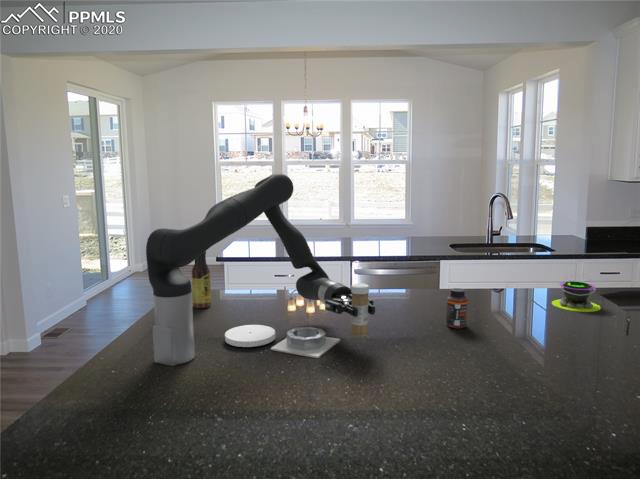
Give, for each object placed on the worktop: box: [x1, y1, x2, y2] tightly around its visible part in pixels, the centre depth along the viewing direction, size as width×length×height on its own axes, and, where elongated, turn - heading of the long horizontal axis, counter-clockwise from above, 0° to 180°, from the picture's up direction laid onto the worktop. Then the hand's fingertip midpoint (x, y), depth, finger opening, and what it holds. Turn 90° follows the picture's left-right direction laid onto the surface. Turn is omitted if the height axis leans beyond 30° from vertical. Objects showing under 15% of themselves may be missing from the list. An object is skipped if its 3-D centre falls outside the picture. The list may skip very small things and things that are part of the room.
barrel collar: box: [286, 325, 327, 351], centre depth 135 cm, size 10×10×3 cm
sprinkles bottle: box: [350, 282, 370, 338], centre depth 129 cm, size 5×5×13 cm
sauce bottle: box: [191, 250, 212, 309], centre depth 171 cm, size 7×6×20 cm
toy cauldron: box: [551, 273, 602, 313], centre depth 170 cm, size 15×15×11 cm
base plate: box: [270, 336, 341, 359], centre depth 135 cm, size 14×14×1 cm
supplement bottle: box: [445, 288, 468, 330], centre depth 149 cm, size 6×6×11 cm
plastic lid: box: [224, 324, 276, 348], centre depth 139 cm, size 14×14×2 cm
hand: (364, 311), depth 126 cm, fingers closed on sprinkles bottle, 4 cm apart
